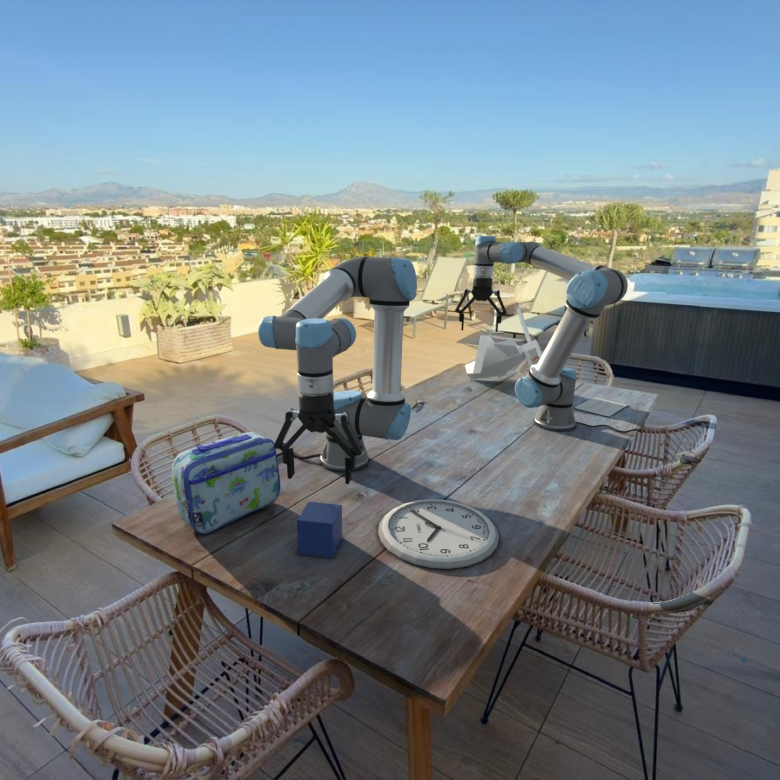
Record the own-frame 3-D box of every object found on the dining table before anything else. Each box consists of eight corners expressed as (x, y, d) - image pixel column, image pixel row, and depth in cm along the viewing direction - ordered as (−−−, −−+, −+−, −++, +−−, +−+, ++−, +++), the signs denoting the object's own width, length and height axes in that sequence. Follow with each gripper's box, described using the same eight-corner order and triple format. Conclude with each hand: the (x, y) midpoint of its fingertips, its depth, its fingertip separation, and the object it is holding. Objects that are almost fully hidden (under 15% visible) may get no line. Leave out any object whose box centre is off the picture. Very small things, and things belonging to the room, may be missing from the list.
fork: (408, 410, 218) (408, 405, 217) (419, 398, 232) (419, 394, 231) (414, 410, 217) (414, 406, 216) (425, 399, 231) (425, 395, 231)
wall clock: (515, 560, 118) (382, 565, 115) (514, 566, 118) (382, 571, 116) (482, 494, 146) (374, 497, 144) (481, 500, 147) (374, 502, 144)
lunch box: (192, 543, 125) (183, 462, 118) (173, 525, 132) (164, 448, 126) (285, 505, 142) (281, 433, 136) (263, 491, 149) (259, 422, 143)
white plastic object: (486, 421, 262) (466, 398, 237) (467, 348, 284) (447, 320, 260) (558, 397, 250) (545, 370, 225) (533, 322, 272) (517, 290, 247)
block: (298, 554, 121) (296, 520, 119) (309, 533, 130) (308, 501, 127) (332, 558, 120) (332, 523, 118) (342, 537, 128) (341, 504, 126)
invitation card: (608, 416, 214) (573, 407, 224) (608, 416, 214) (573, 408, 224) (628, 404, 229) (594, 396, 238) (628, 405, 229) (594, 397, 238)
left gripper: (254, 393, 112) (261, 481, 118) (369, 400, 108) (369, 491, 115) (268, 382, 119) (273, 466, 125) (375, 389, 115) (376, 475, 122)
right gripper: (450, 276, 202) (447, 330, 209) (516, 278, 199) (511, 333, 205) (451, 275, 209) (448, 327, 216) (515, 277, 206) (510, 330, 212)
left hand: (319, 478), depth 120 cm, fingers open, 13 cm apart
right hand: (479, 330), depth 210 cm, fingers open, 13 cm apart
